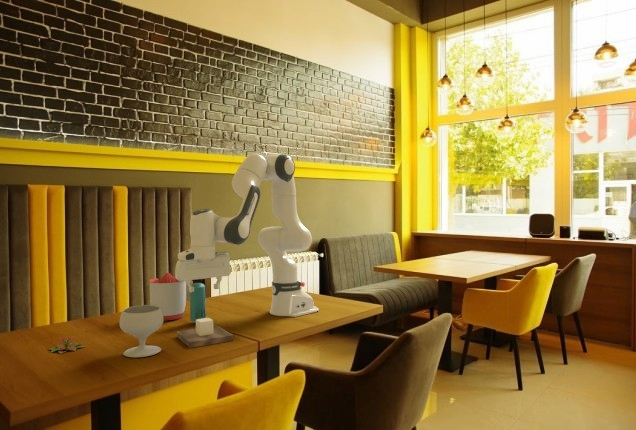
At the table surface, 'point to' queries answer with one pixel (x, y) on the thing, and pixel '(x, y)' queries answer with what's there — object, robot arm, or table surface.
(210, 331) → the off-white cube
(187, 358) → the table surface
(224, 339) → the walnut base
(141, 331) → the chalice
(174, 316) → the citrus juicer
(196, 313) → the beverage bottle
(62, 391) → the table surface
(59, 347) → the lily flower
